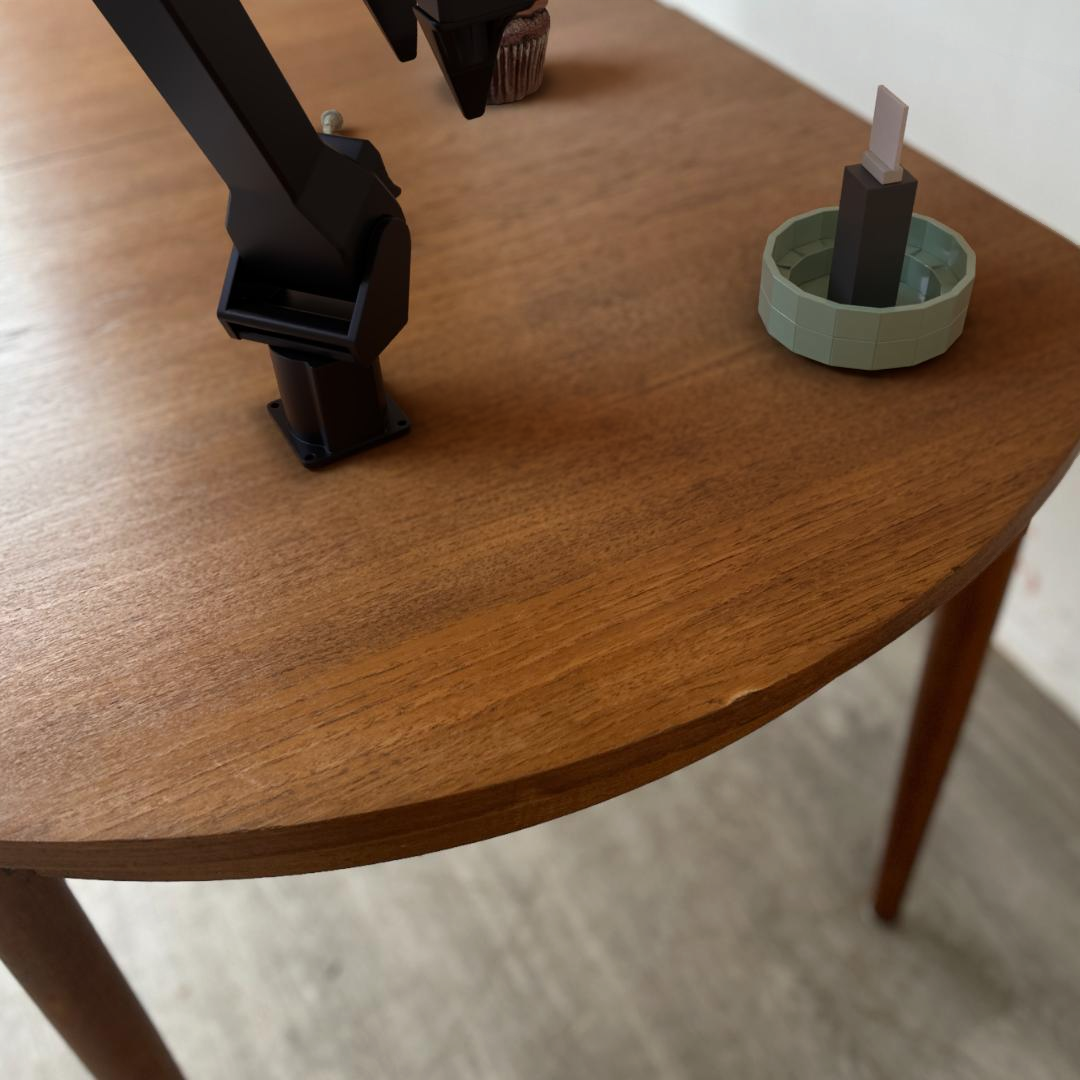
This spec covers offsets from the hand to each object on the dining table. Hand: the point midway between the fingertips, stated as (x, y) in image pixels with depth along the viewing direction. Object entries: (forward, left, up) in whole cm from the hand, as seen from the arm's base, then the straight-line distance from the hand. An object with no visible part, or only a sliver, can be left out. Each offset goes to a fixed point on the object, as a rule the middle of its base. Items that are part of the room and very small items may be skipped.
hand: (439, 87), depth 69 cm
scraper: (-18, -18, -12) cm, 28 cm away
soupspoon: (+16, +3, -13) cm, 21 cm away
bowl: (-18, -18, -13) cm, 29 cm away
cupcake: (+26, -16, -13) cm, 34 cm away
